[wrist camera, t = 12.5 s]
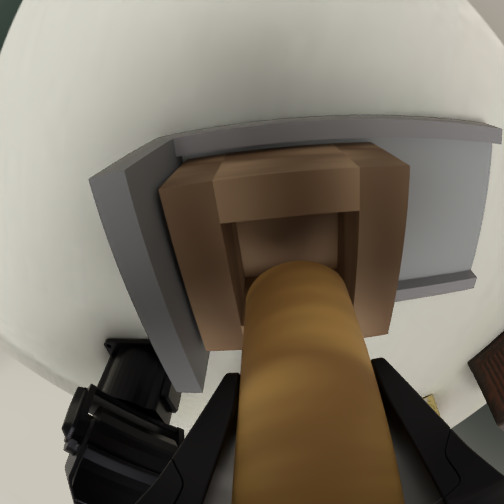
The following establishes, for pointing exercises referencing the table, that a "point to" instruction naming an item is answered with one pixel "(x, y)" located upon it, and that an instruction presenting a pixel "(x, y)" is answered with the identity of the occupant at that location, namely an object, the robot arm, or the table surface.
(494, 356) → the manual coffee grinder
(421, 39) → the table surface
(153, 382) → the robot arm
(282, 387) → the dowel
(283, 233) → the block
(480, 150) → the rail board
